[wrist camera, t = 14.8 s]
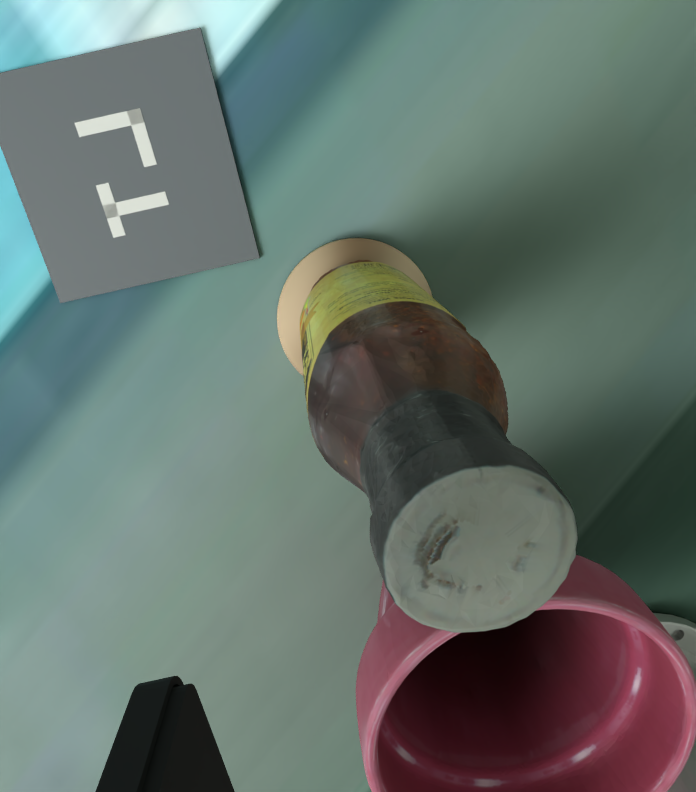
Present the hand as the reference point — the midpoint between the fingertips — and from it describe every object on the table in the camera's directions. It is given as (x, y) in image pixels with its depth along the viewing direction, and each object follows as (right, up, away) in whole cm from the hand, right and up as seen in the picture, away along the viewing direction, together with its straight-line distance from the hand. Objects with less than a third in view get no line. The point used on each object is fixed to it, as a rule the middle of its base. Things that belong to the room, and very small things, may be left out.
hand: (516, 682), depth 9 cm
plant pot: (+4, -6, +27) cm, 28 cm away
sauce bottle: (-2, +8, +22) cm, 23 cm away
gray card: (-13, +14, +19) cm, 27 cm away
